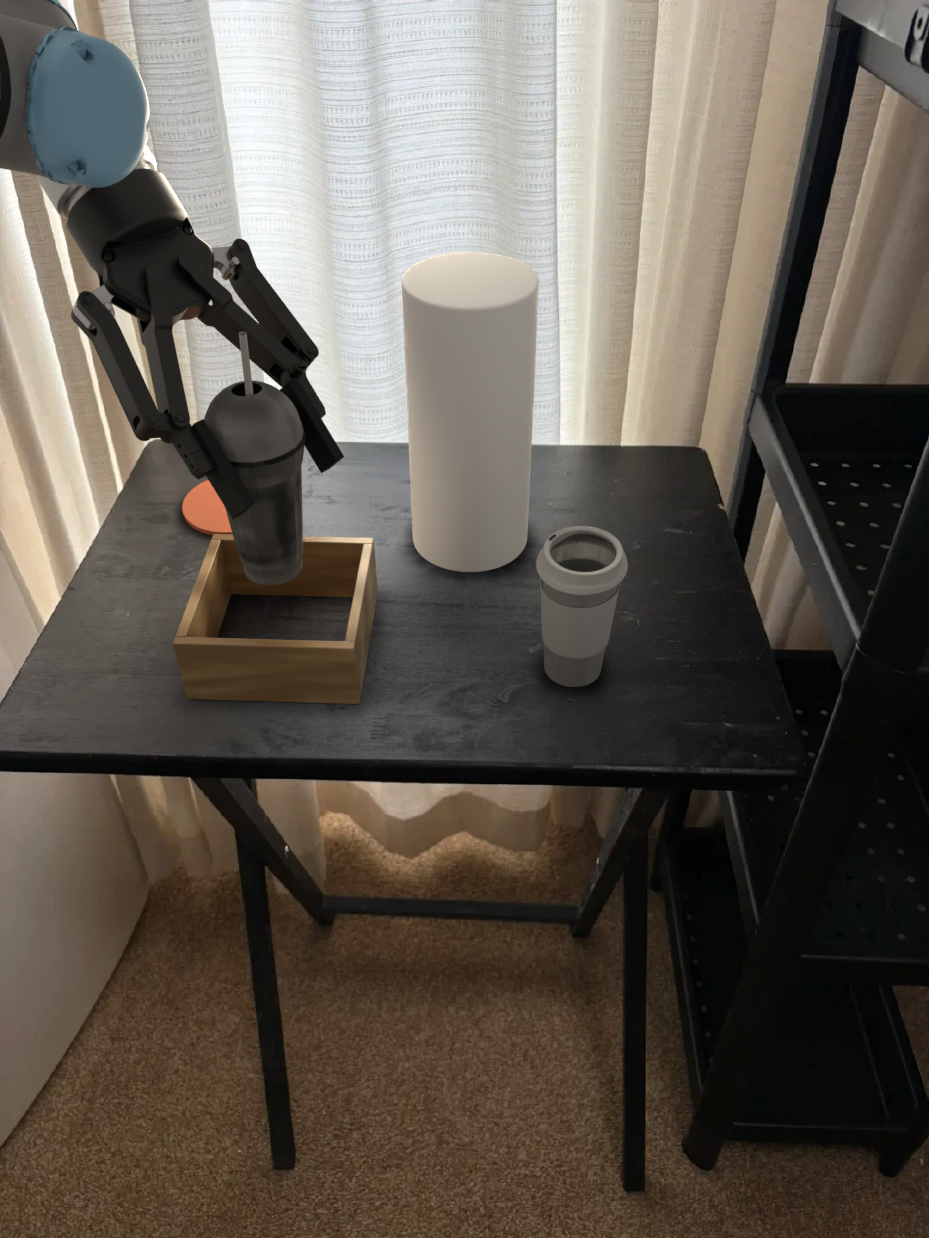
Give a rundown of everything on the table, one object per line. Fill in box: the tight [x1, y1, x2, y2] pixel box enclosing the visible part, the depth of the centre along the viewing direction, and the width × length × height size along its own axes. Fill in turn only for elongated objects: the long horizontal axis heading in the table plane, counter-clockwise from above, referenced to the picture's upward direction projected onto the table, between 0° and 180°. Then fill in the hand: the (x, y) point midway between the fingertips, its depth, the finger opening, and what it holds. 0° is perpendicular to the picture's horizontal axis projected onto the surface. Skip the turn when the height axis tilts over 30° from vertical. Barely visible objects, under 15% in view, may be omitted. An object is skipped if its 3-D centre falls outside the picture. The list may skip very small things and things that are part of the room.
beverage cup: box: [203, 332, 306, 585], centre depth 75 cm, size 7×7×20 cm
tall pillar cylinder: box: [401, 251, 540, 573], centre depth 89 cm, size 11×11×25 cm
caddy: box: [172, 534, 379, 705], centre depth 85 cm, size 14×14×6 cm
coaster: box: [181, 479, 232, 536], centre depth 101 cm, size 10×10×1 cm
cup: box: [535, 525, 629, 688], centre depth 81 cm, size 7×7×12 cm
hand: (289, 487), depth 74 cm, fingers closed on beverage cup, 7 cm apart
